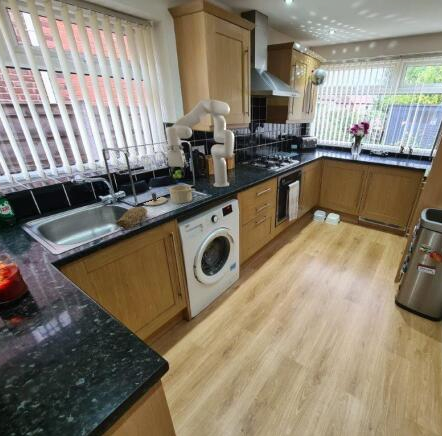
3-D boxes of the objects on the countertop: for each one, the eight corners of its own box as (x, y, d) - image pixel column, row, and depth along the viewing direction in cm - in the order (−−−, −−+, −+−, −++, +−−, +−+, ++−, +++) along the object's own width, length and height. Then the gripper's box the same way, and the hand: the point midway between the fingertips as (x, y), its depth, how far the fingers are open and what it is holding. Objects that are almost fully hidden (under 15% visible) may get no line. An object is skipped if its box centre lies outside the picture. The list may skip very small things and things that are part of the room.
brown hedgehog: (134, 232, 125) (156, 210, 140) (125, 220, 120) (150, 199, 136) (115, 233, 129) (139, 212, 145) (107, 221, 125) (132, 201, 140)
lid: (150, 198, 169) (148, 189, 166) (170, 198, 167) (169, 190, 165) (138, 205, 156) (136, 196, 153) (160, 206, 154) (158, 197, 151)
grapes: (177, 175, 162) (176, 168, 160) (184, 175, 162) (184, 168, 160) (171, 179, 154) (170, 172, 152) (179, 179, 153) (178, 172, 151)
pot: (173, 196, 172) (171, 184, 169) (198, 196, 170) (197, 185, 167) (164, 202, 160) (161, 190, 157) (191, 203, 158) (190, 191, 154)
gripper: (190, 147, 154) (193, 175, 161) (164, 147, 156) (169, 175, 163) (185, 149, 147) (189, 178, 154) (158, 148, 149) (163, 177, 156)
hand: (179, 176), depth 159 cm, fingers closed on grapes, 5 cm apart
